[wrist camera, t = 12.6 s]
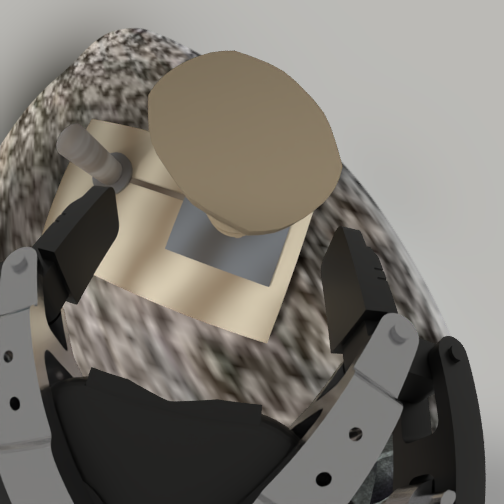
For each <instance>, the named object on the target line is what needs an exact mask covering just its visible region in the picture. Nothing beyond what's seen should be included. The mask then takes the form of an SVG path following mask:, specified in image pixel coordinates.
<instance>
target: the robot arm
mask: <svg viewBox="0 0 504 504" xmlns="http://www.w3.org/2000/svg"><path fill="white" fill-rule="evenodd" d="M118 231H119V218H118V210H117V203H116V195H115V190H114V188H112V187H106V186H97V185H94V186H92V187H91V188H90V189H89V190H88V191H87V192H86V193H85V194H84V195H83V196H82V197H80V198H79V199H77V200H76V201H74V202H72V203H71V204H69V205H68V206H67V207H66V209H65V210H64V211H63V212H62V214H61V215H59V216H58V217H57V218H56V219H55V222H53V223H52V224H51V225H50V226H49V227H48V229H47V230H46V231H45V232H44V233H43V235H42V236H41V237H40V238H39V239H38V241H37V242H36V243H35V244H34V246H33V247H32V248H31V247H22V248H19V249H17V250H15V251H14V252H12V253H11V254H10V255H9V256H8V257H7V258H6V260H5V261H4V262H0V504H354V503H353V501H352V500H351V499H352V497H353V496H354V495H355V493H356V492H357V490H358V489H359V488H360V486H361V485H362V483H363V482H364V480H365V479H366V477H367V476H368V474H369V472H370V471H371V469H372V468H373V466H374V464H375V463H376V461H377V459H378V458H379V456H380V454H381V452H382V451H383V449H384V447H385V445H386V443H387V441H388V439H389V438H390V436H391V434H392V433H393V493H392V494H391V495H390V496H389V498H388V499H386V500H384V501H383V502H382V503H381V504H485V481H486V480H485V451H484V440H483V431H482V423H481V416H480V410H479V404H478V399H477V394H476V389H475V384H474V380H473V376H472V372H471V368H470V364H469V360H468V357H467V354H466V351H465V349H464V347H463V345H462V344H461V343H460V342H459V341H458V340H457V339H455V338H454V337H451V336H445V337H443V338H442V339H441V340H440V341H439V342H438V343H437V344H433V343H431V342H428V341H426V340H424V339H421V338H419V337H418V333H417V330H416V328H415V327H414V325H413V324H412V323H411V322H410V321H409V320H408V319H407V318H406V317H404V316H402V315H400V314H398V312H397V309H396V306H395V302H394V299H393V296H392V293H391V290H390V288H389V285H388V282H387V281H386V276H385V273H384V271H383V268H382V265H381V263H380V260H379V258H378V256H377V255H376V254H375V253H374V251H373V250H372V249H371V248H370V247H367V246H366V244H365V241H364V239H363V236H362V234H361V232H360V231H359V230H355V229H351V228H346V227H342V226H340V227H338V228H337V230H336V232H335V234H334V236H333V238H332V241H331V243H330V245H329V247H328V250H327V252H326V254H325V256H324V259H323V262H322V266H321V278H322V285H323V292H324V299H325V307H326V314H327V322H328V331H329V339H330V349H331V353H337V354H343V359H344V361H343V362H342V363H341V364H340V365H339V367H338V368H337V369H336V371H335V372H334V374H333V375H332V377H331V378H330V379H329V381H328V382H327V383H326V385H325V386H324V387H323V389H322V390H321V391H320V393H319V394H318V395H317V397H316V398H315V399H314V401H313V402H312V403H311V404H310V405H309V407H308V408H307V409H306V410H305V411H304V412H303V413H302V414H301V415H300V416H299V417H298V418H297V419H296V420H295V421H294V422H293V423H292V425H291V426H290V427H289V428H287V427H286V426H285V425H283V424H282V423H280V422H278V421H277V420H274V419H272V418H270V417H268V416H265V415H263V414H261V411H262V405H257V404H247V403H239V402H231V401H224V400H218V399H217V400H202V401H177V402H173V401H167V400H165V399H163V398H161V397H159V396H157V395H155V394H153V393H151V392H150V391H148V390H146V389H144V388H142V387H141V386H139V385H137V384H135V383H134V382H132V381H130V380H128V379H125V378H122V377H119V376H115V375H112V374H109V373H106V372H103V371H100V370H98V369H95V368H92V367H91V370H90V373H89V376H88V377H87V376H86V377H83V376H82V373H81V371H80V369H79V367H78V365H77V363H76V361H75V358H74V355H73V351H72V347H71V343H70V338H69V333H68V328H67V322H66V316H65V311H64V309H63V305H64V303H65V301H67V302H70V303H73V304H78V302H79V300H80V298H81V296H82V295H83V293H84V291H85V289H86V287H87V285H88V284H89V282H90V280H91V278H92V277H93V275H94V273H95V272H96V270H97V268H98V266H99V265H100V263H101V262H102V260H103V258H104V257H105V255H106V253H107V252H108V250H109V249H110V247H111V245H112V244H113V242H114V241H115V239H116V237H117V235H118ZM434 393H435V398H436V404H437V412H438V420H439V421H438V427H437V429H436V431H435V432H434V433H433V434H432V431H431V421H430V412H429V405H428V397H429V396H431V395H432V394H434Z"/></svg>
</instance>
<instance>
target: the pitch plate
mask: <svg viewBox="0 0 504 504" xmlns="http://www.w3.org/2000/svg"><path fill="white" fill-rule="evenodd" d="M56 148H57V151H58V153H59V154H61V155H62V156H63V157H65V158H66V159H68V160H69V161H70V162H69V164H68V166H67V169H66V171H65V173H64V175H63V178H62V180H61V182H60V185H59V187H58V190H57V192H56V195H55V198H54V200H53V203H52V206H51V208H50V211H49V214H48V217H47V220H46V223H45V226H44V229H43V233H44V232H45V231H46V230H47V229H48V227H49V226H50V225H51V224H52V223H53V222H55V219H56V218H57V217H58V216H59V215H61V214H62V212H63V211H64V210H65V209H66V207H67V206H68V205H69V204H71V203H72V202H74V201H76V200H77V199H79V198H80V197H82V196H83V195H84V194H85V193H86V192H87V191H88V190H89V189H90V188H91V187H92V186H94V185H97V186H106V187H112V188H114V190H115V195H116V203H117V210H118V218H119V231H118V235H117V237H116V239H115V241H114V242H113V244H112V245H111V247H110V249H109V250H108V252H107V253H106V255H105V257H104V258H103V260H102V262H101V263H100V265H99V266H98V268H97V270H96V272H95V273H94V275H95V276H97V277H99V278H102V279H104V280H106V281H108V282H110V283H112V284H114V285H116V286H119V287H121V288H123V289H125V290H127V291H129V292H132V293H134V294H136V295H139V296H141V297H143V298H145V299H148V300H150V301H152V302H155V303H157V304H160V305H162V306H164V307H167V308H169V309H172V310H174V311H177V312H179V313H182V314H184V315H187V316H190V317H192V318H195V319H197V320H200V321H203V322H206V323H208V324H211V325H214V326H217V327H219V328H222V329H225V330H228V331H231V332H234V333H237V334H240V335H243V336H246V337H249V338H252V339H255V340H258V341H261V342H264V343H267V342H268V339H269V336H270V334H271V331H272V329H273V326H274V323H275V321H276V318H277V315H278V313H279V310H280V307H281V304H282V302H283V299H284V296H285V293H286V291H287V288H288V285H289V282H290V279H291V277H292V274H293V271H294V268H295V265H296V262H297V259H298V256H299V253H300V250H301V247H302V244H303V241H304V238H305V235H306V232H307V229H308V226H309V223H310V220H311V217H312V214H313V212H312V213H311V214H309V215H308V216H306V217H305V218H303V219H302V220H300V221H298V222H297V223H295V224H293V225H292V226H290V227H288V228H285V229H283V230H280V231H278V232H275V233H270V234H264V235H250V236H247V235H245V236H242V237H241V238H235V237H230V236H227V235H224V234H223V233H221V232H219V231H218V230H217V229H216V228H215V227H214V225H213V224H212V223H211V221H210V220H209V218H208V216H207V214H206V213H205V212H203V211H202V210H200V209H199V208H197V207H195V206H194V205H192V204H191V202H190V201H189V200H188V199H187V198H186V197H185V195H184V194H183V192H182V191H181V189H180V188H179V187H178V185H177V184H176V182H175V181H174V179H173V178H172V176H171V175H170V174H169V172H168V171H167V169H166V168H165V166H164V165H163V163H162V162H161V160H160V159H159V157H158V155H157V154H156V152H155V149H154V147H153V145H152V143H151V138H150V133H149V131H147V130H142V129H138V128H134V127H129V126H125V125H120V124H116V123H111V122H106V121H101V120H95V119H92V120H91V121H90V123H89V125H88V127H87V129H85V128H84V127H83V126H82V125H81V124H78V123H75V124H71V125H69V126H68V127H66V128H65V129H64V130H63V131H62V132H61V134H60V136H59V137H58V140H57V144H56ZM43 233H42V235H43Z"/></svg>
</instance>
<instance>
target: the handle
mask: <svg viewBox="0 0 504 504" xmlns="http://www.w3.org/2000/svg"><path fill="white" fill-rule="evenodd" d="M148 123H149V133H150V138H151V143H152V145H153V147H154V149H155V152H156V154H157V155H158V157H159V159H160V160H161V162H162V163H163V165H164V166H165V168H166V169H167V171H168V172H169V174H170V175H171V176H172V178H173V179H174V181H175V182H176V184H177V185H178V187H179V188H180V189H181V191H182V192H183V194H184V195H185V197H186V198H187V199H188V200H189V201H190V202H191V204H192V205H194V206H195V207H197V208H199V209H200V210H202V211H203V212H205V213H206V214H207V216H208V218H209V220H210V221H211V223H212V224H213V225H214V227H215V228H216V229H217V230H218V231H219V232H221V233H223V234H224V235H227V236H230V237H235V238H241V237H242V236H245V235H247V236H250V235H264V234H270V233H275V232H278V231H280V230H283V229H285V228H288V227H290V226H292V225H293V224H295V223H297V222H298V221H300V220H302V219H303V218H305V217H306V216H308V215H309V214H311V213H312V212H313V211H314V210H315V209H316V208H318V207H319V206H320V205H321V204H322V203H323V202H324V201H325V200H326V199H327V198H328V197H329V195H330V194H331V193H332V191H333V190H334V189H335V187H336V184H337V182H338V180H339V178H340V174H341V170H342V167H343V166H342V163H341V159H340V155H339V152H338V149H337V145H336V142H335V139H334V136H333V133H332V130H331V127H330V125H329V123H328V120H327V118H326V116H325V115H324V113H323V111H322V110H321V109H320V107H319V106H318V105H317V103H316V102H315V101H314V100H313V99H312V98H311V97H310V96H309V94H307V92H305V90H304V89H303V88H302V87H301V86H300V85H299V84H298V83H297V82H296V81H294V79H292V78H291V77H290V76H289V75H287V74H286V73H285V72H284V71H282V70H280V69H278V68H277V67H275V66H273V65H271V64H269V63H266V62H264V61H262V60H259V59H257V58H254V57H251V56H248V55H246V54H242V53H240V52H237V51H219V52H212V53H208V54H204V55H201V56H198V57H195V58H193V59H190V60H188V61H186V62H184V63H182V64H180V65H179V66H177V67H175V68H174V69H172V70H171V71H169V72H168V73H167V74H166V75H164V76H163V77H162V78H161V79H160V80H159V81H158V82H157V84H156V85H155V86H154V87H153V89H152V90H151V92H150V93H149V95H148Z"/></svg>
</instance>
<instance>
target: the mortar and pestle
mask: <svg viewBox="0 0 504 504" xmlns="http://www.w3.org/2000/svg"><path fill="white" fill-rule="evenodd" d="M392 493H393V434H391V436H390V438H389V439H388V441H387V443H386V445H385V447H384V449H383V451H382V452H381V454H380V456H379V458H378V459H377V461H376V463H375V464H374V466H373V468H372V469H371V471H370V472H369V474H368V476H367V477H366V479H365V480H364V482H363V483H362V485H361V486H360V488H359V489H358V490H357V492H356V493H355V495H354V496H353V497H352V499H351V500H352V501H353V503H354V504H381V503H382V502H383V501H384V500H386V499H388V498H389V496H390V495H391V494H392Z"/></svg>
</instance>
